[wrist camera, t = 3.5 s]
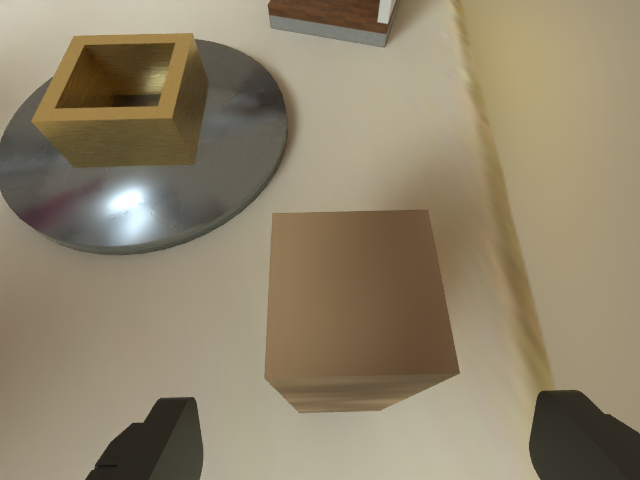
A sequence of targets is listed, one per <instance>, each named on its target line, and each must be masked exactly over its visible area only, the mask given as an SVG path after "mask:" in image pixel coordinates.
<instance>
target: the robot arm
mask: <svg viewBox="0 0 640 480" xmlns="http://www.w3.org/2000/svg"><path fill="white" fill-rule="evenodd" d="M529 451H530V457H531V461H532V464H533V466H534V469H535V471H536V473H537V475H538V476H539V478H540V479H541V480H640V434H639V433H638V432H637V431H635V430H633V429H632V428H630V427H629V426H627V425H625V424H624V423H622V422H621V421H619V420H618V419H616V418H614V417H613V416H611V415H610V414H604V413H603V412H602V411H601V410H600V409H598V407H597V406H596V405H595V404H593V402H592V401H591V400H590V399H589V398H587V397H586V396H585V395H584V394H583V393H582V392H580V391H577V390H556V391H541V392H540V393H539V394H538V397H537V401H536V407H535V412H534V418H533V424H532V430H531V435H530V441H529ZM202 466H203V444H202V437H201V430H200V423H199V416H198V409H197V403H196V400H195V398H193V397H177V398H160V399H158V401H157V402H156V403H155V405H154V406H153V408H152V410H151V411H150V413H149V415H148V416H147V418H146V419H145V421H144V423H132V424H131V425H130V426H129V427H128V428H126V429H125V430H124V431H123V432H122V433H121V434H119V435H118V436H117V437H116V438H115V439H114V440H113V441H111V442H110V444H109V445H108V447H107V448H106V450H105V451H104V453H103V454H102V456H101V457H100V459H99V460H98V462H97V463H96V465H95V469H94V470H91V472H90V473H89V475H88V476H87V478H86V479H85V480H200V476H201V471H202Z"/></svg>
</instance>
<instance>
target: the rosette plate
mask: <svg viewBox="0 0 640 480" xmlns="http://www.w3.org/2000/svg"><path fill="white" fill-rule="evenodd" d="M286 139H287V119H286V111H285V105H284V101H283V97H282V94H281V92H280V89H279V87H278V85H277V83H276V82H275V80H274V79H273V78H272V76H271V75H270V74H269V73H268V72H267V70H266V69H265V68H264V67H263V66H262V65H260V64H259V63H258V62H256V61H255V60H254V59H252V58H251V57H249V56H247V55H246V54H244V53H242V52H240V51H238V50H235V49H233V48H231V47H228V46H225V45H222V44H218V43H215V42H210V41H204V40H198V39H194V36H193V33H185V34H140V35H96V36H74V37H73V39H72V41H71V43H70V45H69V47H68V49H67V51H66V53H65V55H64V57H63V59H62V61H61V63H60V65H59V67H58V69H57V71H56V73H55V75H54V77H52V78H51V79H49V80H48V81H47V82H46V83H44V84H43V85H42V86H41V87H39V88H38V89H37V90H36V91H35V92H34V93H33V94H32V95H31V96H30V97H29V98H28V99H27V100H26V101H25V102H24V103H23V104H22V106H21V107H20V108H19V109H18V110H17V112H16V113H15V114H14V116H13V118H12V119H11V121H10V122H9V124H8V126H7V128H6V130H5V132H4V134H3V136H2V139H1V142H0V190H1V193H2V195H3V197H4V199H5V200H6V202H7V204H8V205H9V207H10V208H11V209H12V210H13V211H14V212H15V213H16V215H17V216H18V217H19V218H20V219H22V220H23V221H24V222H26V223H27V224H28V225H30V226H31V227H33V228H34V229H35V230H37V231H38V232H40V233H41V234H42V235H44V236H45V237H46V238H48V239H50V240H52V241H54V242H56V243H58V244H61V245H63V246H66V247H69V248H72V249H75V250H79V251H83V252H89V253H95V254H105V255H128V254H141V253H147V252H152V251H157V250H163V249H166V248H170V247H173V246H176V245H179V244H183V243H186V242H188V241H191V240H193V239H195V238H198V237H200V236H202V235H205V234H207V233H208V232H210V231H212V230H214V229H216V228H217V227H219V226H221V225H223V224H224V223H226V222H227V221H229V220H230V219H231V218H233V217H234V216H236V215H237V214H239V213H240V212H241V211H242V210H243V209H244V208H246V207H247V206H248V205H249V204H250V203H251V202H252V201H253V200H254V199H255V198H256V197H257V196H258V195H259V194H260V193H261V191H262V190H263V189H264V188H265V187H266V186H267V184H268V183H269V181H270V180H271V178H272V177H273V175H274V174H275V172H276V170H277V168H278V166H279V163H280V161H281V159H282V156H283V153H284V149H285V146H286Z"/></svg>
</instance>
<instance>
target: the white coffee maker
mask: <svg viewBox="0 0 640 480" xmlns="http://www.w3.org/2000/svg"><path fill="white" fill-rule="evenodd" d="M399 2H400V0H271V1H270V2H269V4H268V9H269V17H270V25H271V28H274V29H280V30H286V31H292V32H298V33H304V34H309V35H315V36H321V37H327V38H333V39H339V40H345V41H350V42H356V43H362V44H368V45H374V46H380V47H384V46H385V43H386V40H387V37H388V34H389V32H390V29H391V26H392V23H393V20H394V17H395V14H396V11H397V8H398V5H399Z"/></svg>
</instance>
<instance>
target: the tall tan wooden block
mask: <svg viewBox="0 0 640 480" xmlns="http://www.w3.org/2000/svg"><path fill="white" fill-rule="evenodd" d="M458 374H460V371H459V366H458V361H457V356H456V351H455V346H454V341H453V336H452V331H451V326H450V321H449V315H448V310H447V305H446V300H445V295H444V290H443V285H442V280H441V275H440V270H439V265H438V260H437V255H436V250H435V244H434V239H433V234H432V229H431V224H430V219H429V214H428V210H398V211H355V212H311V213H273V215H272V235H271V256H270V276H269V296H268V317H267V337H266V358H265V379H266V380H267V381H268V382H269V383H270V384H271V385H272V386H273V387H274V388H275V389H276V390H277V391H278V392H279V393H280V394H281V395H282V396H283V397H284V398H285V399H286V400H287V401H288V402H289V403H290V404H291V405H292V406H293V407H294V408H295V409H296V410H297V411H298V412H299V413H309V412H349V411H380V410H382V409H385V408H387V407H389V406H391V405H393V404H395V403H397V402H400V401H402V400H404V399H406V398H408V397H410V396H412V395H415V394H417V393H419V392H421V391H423V390H425V389H427V388H430V387H432V386H434V385H436V384H438V383H440V382H442V381H445V380H447V379H449V378H451V377H453V376H455V375H458Z"/></svg>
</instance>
